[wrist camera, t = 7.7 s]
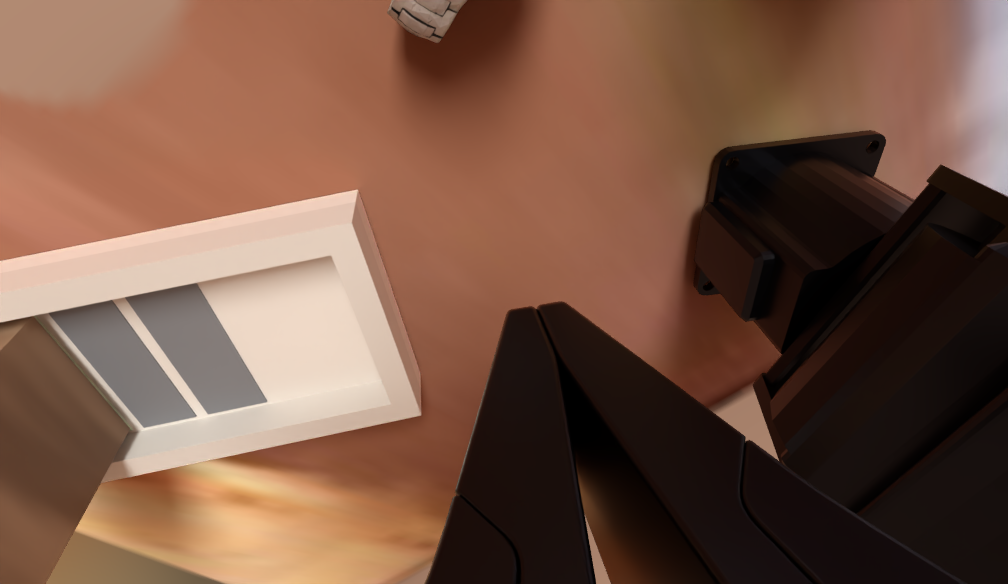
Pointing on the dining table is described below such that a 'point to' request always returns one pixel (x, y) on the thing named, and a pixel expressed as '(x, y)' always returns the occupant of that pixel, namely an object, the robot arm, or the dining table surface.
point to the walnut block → (46, 450)
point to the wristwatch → (425, 16)
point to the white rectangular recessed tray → (228, 330)
